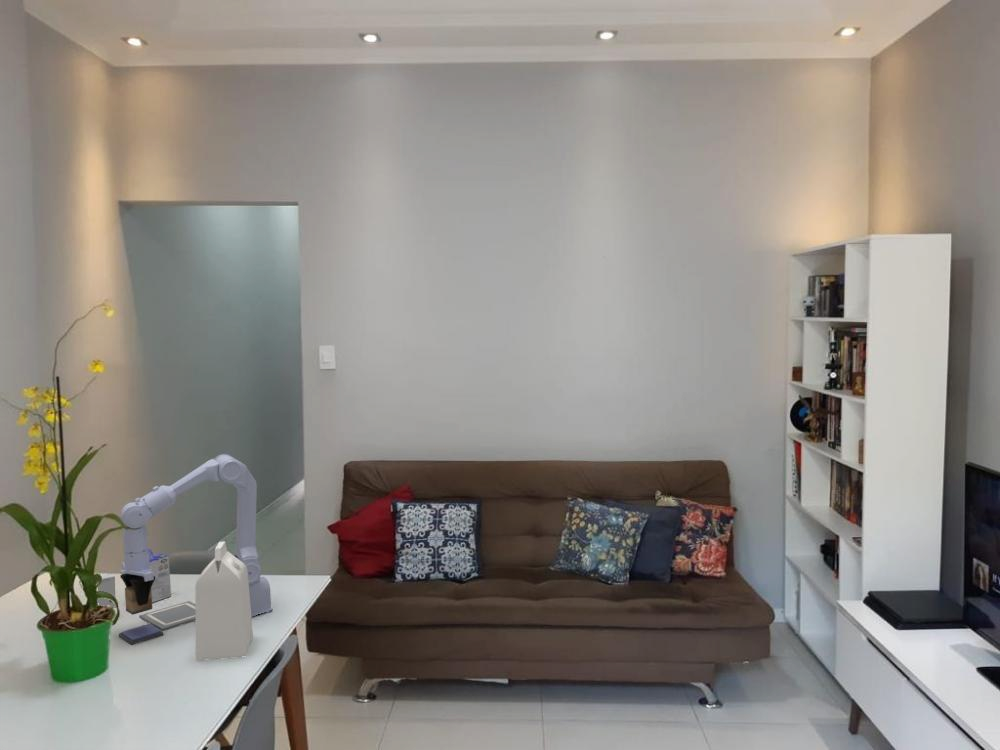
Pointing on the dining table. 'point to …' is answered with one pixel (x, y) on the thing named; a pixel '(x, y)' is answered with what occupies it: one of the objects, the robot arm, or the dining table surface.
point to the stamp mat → (171, 616)
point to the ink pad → (140, 634)
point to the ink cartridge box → (160, 576)
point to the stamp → (135, 602)
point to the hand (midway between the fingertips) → (139, 602)
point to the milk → (223, 608)
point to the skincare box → (107, 588)
